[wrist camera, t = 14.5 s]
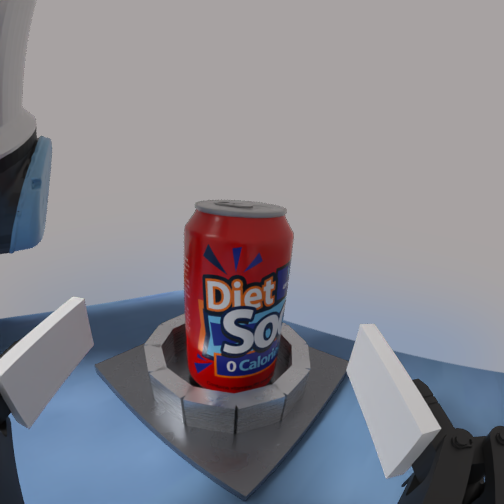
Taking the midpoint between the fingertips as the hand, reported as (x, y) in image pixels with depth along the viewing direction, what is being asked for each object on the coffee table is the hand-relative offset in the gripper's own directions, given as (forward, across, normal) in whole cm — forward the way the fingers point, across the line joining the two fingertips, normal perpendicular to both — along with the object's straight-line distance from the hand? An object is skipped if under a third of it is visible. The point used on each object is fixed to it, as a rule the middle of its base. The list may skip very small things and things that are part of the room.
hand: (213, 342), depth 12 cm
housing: (+9, 0, -11) cm, 14 cm away
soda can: (+10, 0, -10) cm, 14 cm away
